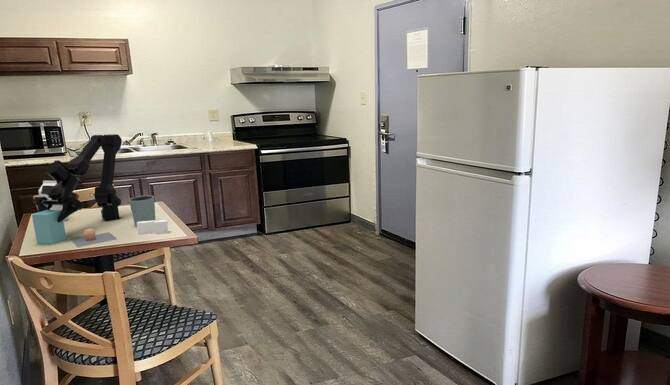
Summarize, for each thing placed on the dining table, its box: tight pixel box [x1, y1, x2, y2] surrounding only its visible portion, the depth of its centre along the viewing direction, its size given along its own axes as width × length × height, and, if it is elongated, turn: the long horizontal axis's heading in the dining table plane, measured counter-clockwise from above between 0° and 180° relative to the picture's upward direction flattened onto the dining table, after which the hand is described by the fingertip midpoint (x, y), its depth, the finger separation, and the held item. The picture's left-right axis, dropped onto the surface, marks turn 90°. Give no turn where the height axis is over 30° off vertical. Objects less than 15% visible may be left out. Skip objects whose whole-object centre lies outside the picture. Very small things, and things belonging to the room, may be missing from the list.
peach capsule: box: [83, 227, 96, 241], centre depth 182 cm, size 4×4×4 cm
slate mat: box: [70, 231, 118, 248], centre depth 182 cm, size 14×13×1 cm
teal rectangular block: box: [31, 210, 67, 245], centre depth 180 cm, size 7×7×12 cm
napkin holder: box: [136, 219, 169, 235], centre depth 188 cm, size 15×11×6 cm
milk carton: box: [37, 180, 70, 222], centre depth 212 cm, size 7×7×19 cm
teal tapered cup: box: [128, 194, 156, 227], centre depth 200 cm, size 10×10×12 cm
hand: (48, 221), depth 180 cm, fingers open, 9 cm apart
